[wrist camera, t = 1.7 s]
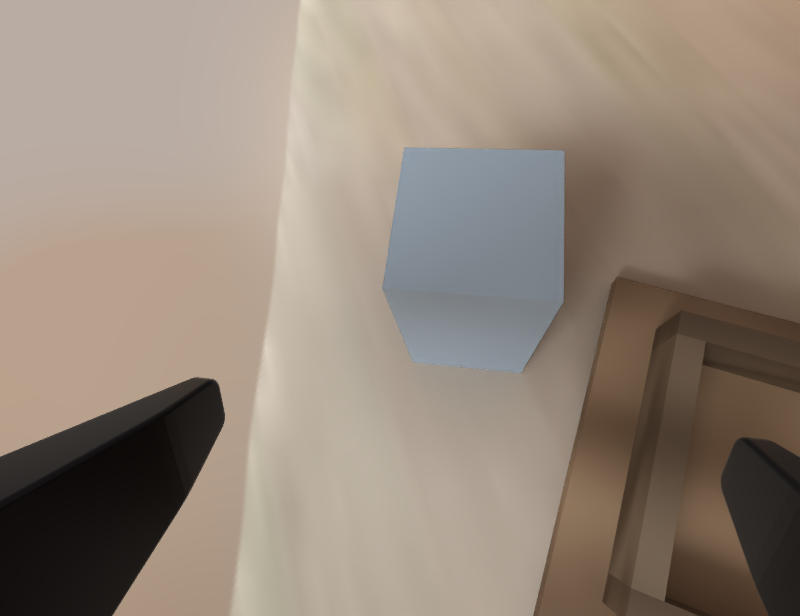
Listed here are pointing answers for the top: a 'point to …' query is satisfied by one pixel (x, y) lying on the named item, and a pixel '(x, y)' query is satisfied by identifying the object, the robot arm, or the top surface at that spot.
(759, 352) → the cradle
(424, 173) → the block
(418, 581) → the top surface
